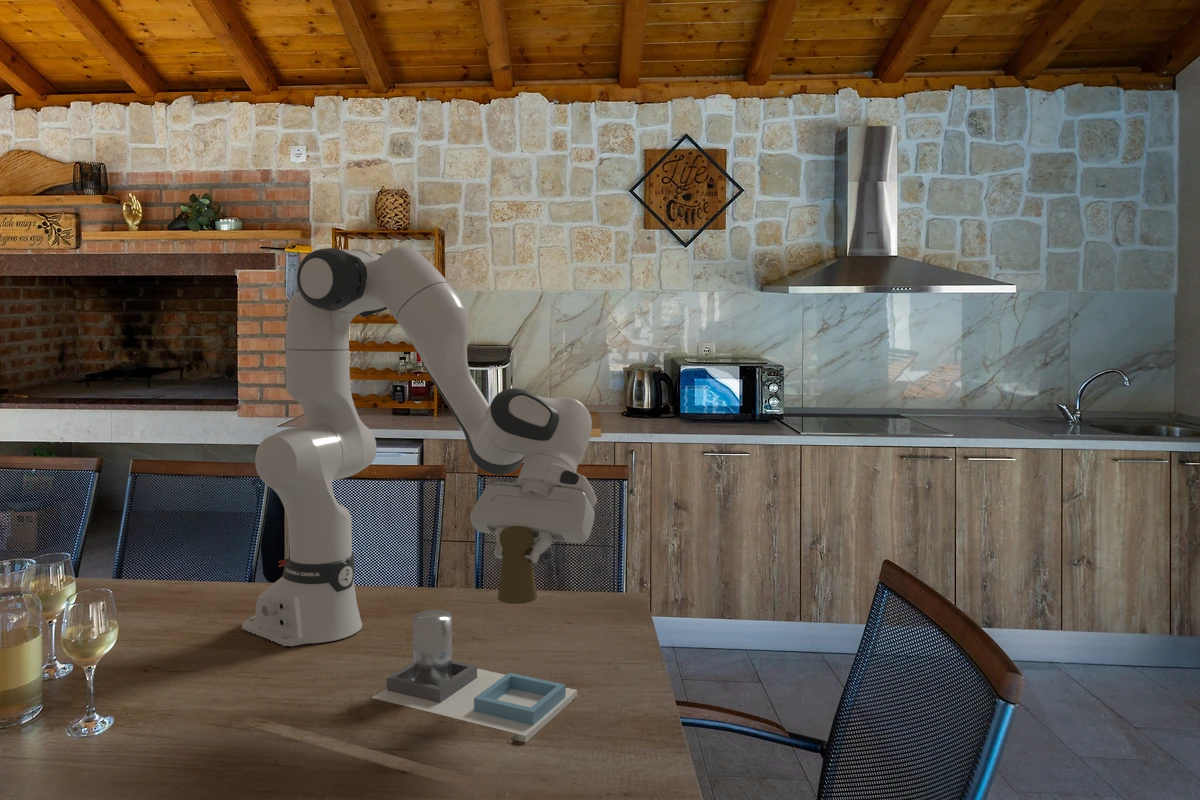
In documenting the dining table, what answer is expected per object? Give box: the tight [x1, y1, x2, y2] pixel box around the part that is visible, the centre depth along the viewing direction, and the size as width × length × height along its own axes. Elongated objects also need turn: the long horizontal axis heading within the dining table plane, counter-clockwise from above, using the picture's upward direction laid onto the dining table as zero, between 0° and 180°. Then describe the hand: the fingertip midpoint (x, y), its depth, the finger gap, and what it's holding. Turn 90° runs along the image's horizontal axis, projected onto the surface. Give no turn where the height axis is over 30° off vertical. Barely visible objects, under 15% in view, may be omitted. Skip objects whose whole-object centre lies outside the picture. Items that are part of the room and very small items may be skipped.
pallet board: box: [371, 659, 578, 743], centre depth 127 cm, size 27×16×3 cm, turn 65°
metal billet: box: [412, 609, 453, 686], centre depth 130 cm, size 6×6×11 cm
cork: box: [497, 526, 538, 605], centre depth 127 cm, size 6×6×11 cm
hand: (514, 558), depth 127 cm, fingers closed on cork, 4 cm apart
